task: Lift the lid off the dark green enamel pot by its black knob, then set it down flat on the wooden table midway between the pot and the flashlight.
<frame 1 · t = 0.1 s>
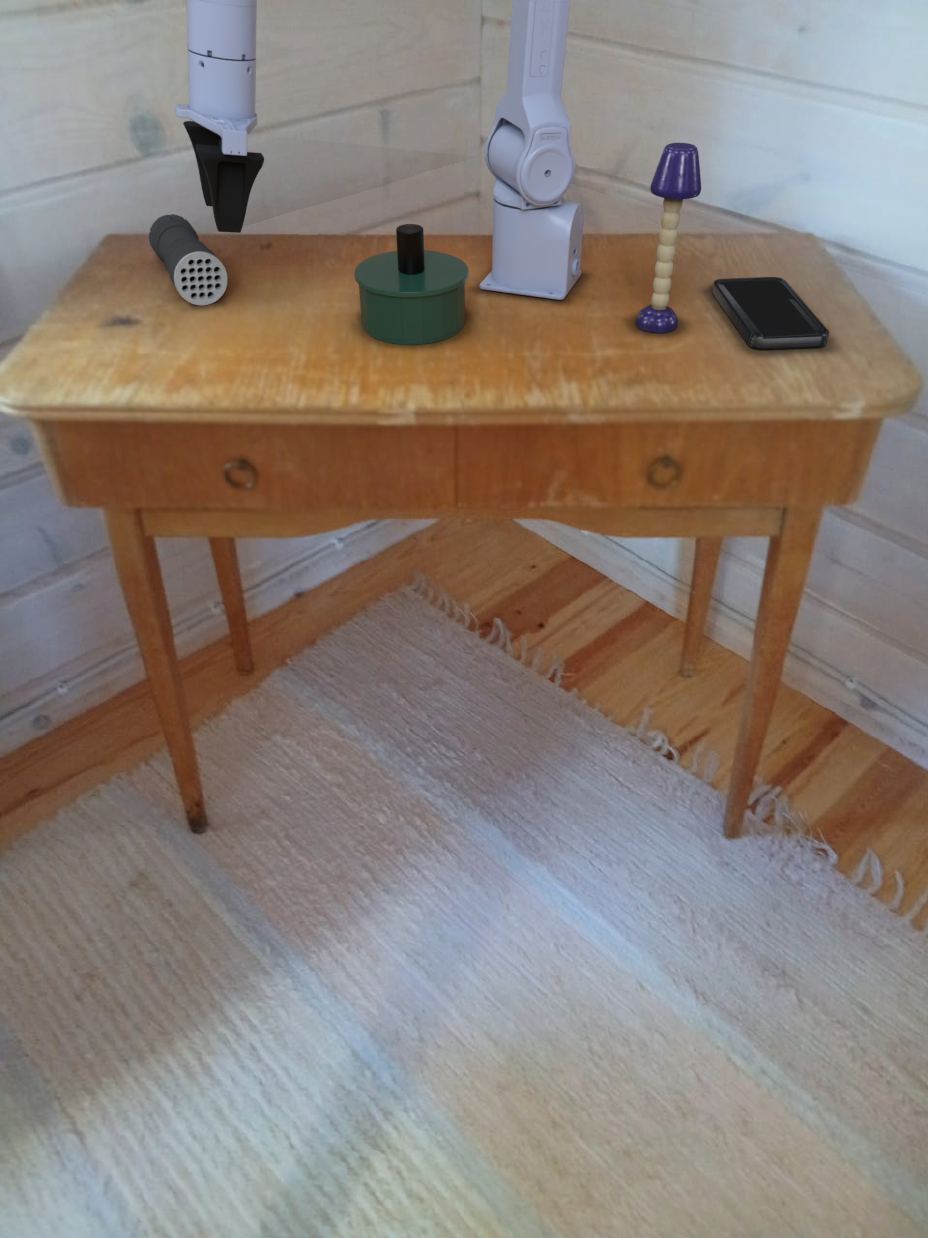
hand: (222, 217, 90), 11 cm above the table, tool pointing down, fingers open, 7 cm apart
flashlight: (191, 282, 106), on the table
lid: (411, 274, 94), point 5 cm above the table, touching pot
toy lamp: (657, 325, 97), on the table
pot: (413, 322, 97), on the table
phone: (766, 318, 98), on the table
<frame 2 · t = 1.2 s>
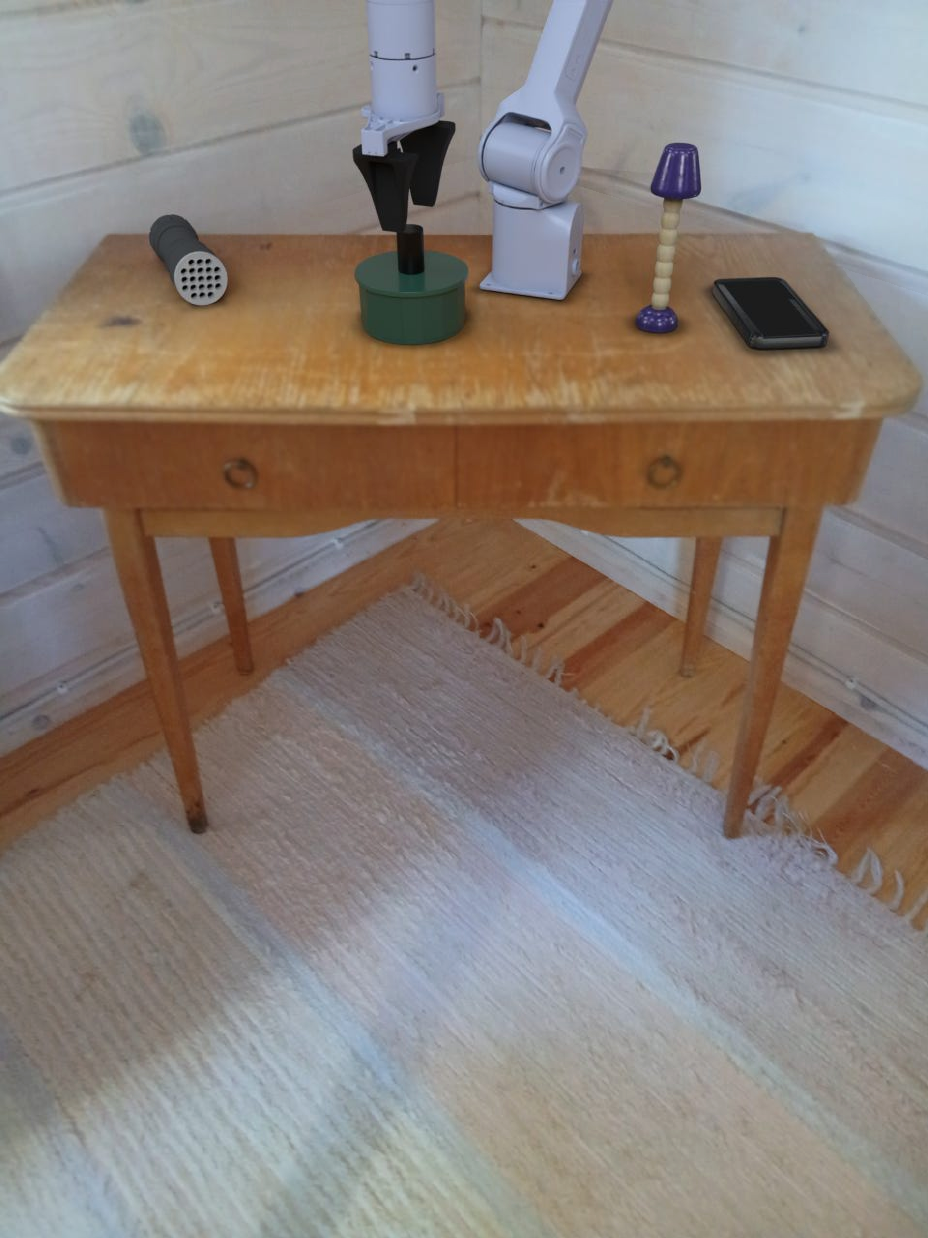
hand: (409, 217, 90), 10 cm above the table, tool pointing down, fingers open, 7 cm apart
nothing on the table moved.
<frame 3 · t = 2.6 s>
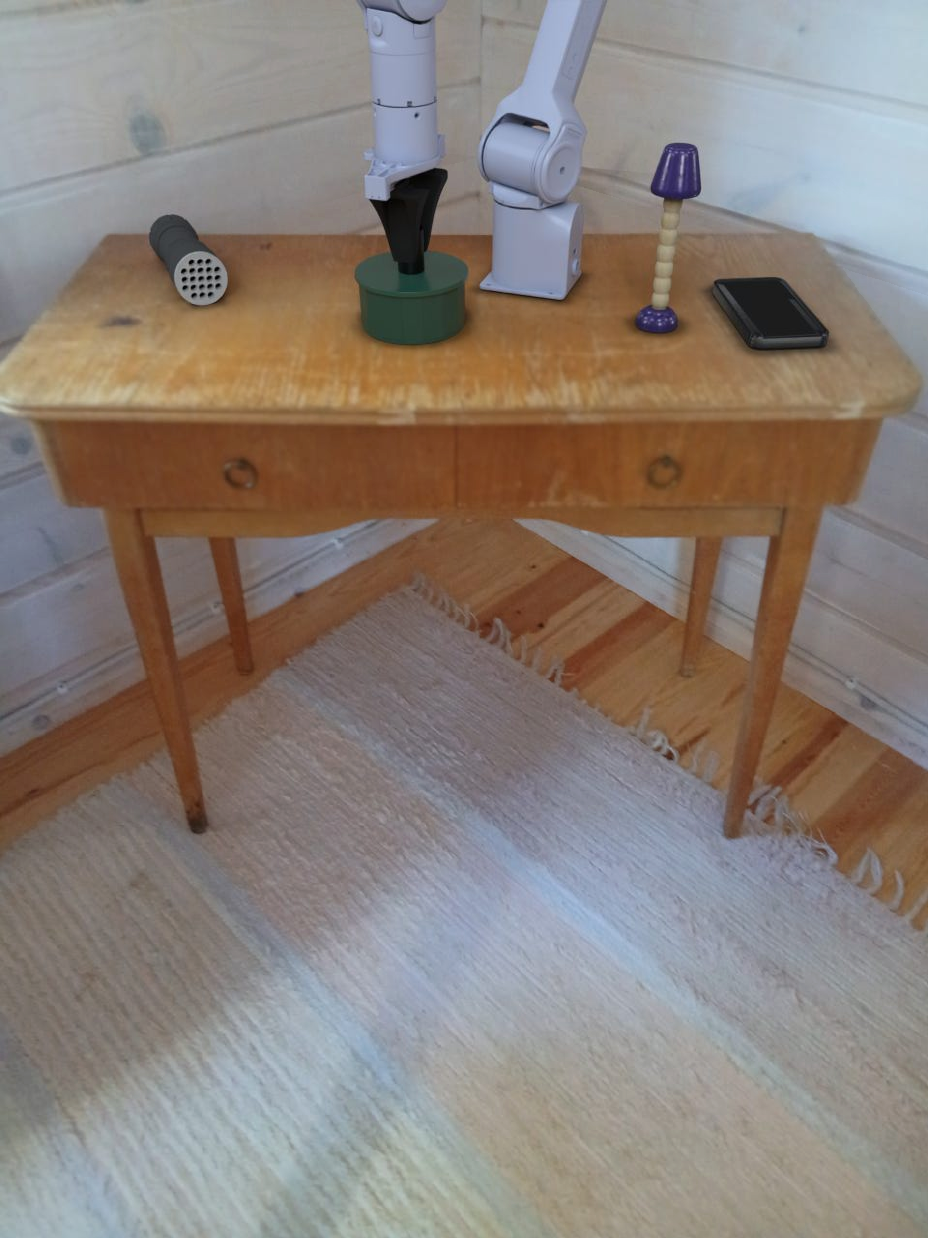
hand: (410, 255, 93), 7 cm above the table, tool pointing down, fingers closed on lid, 2 cm apart
lid: (411, 274, 94), point 5 cm above the table, touching gripper, pot
everything else where it was.
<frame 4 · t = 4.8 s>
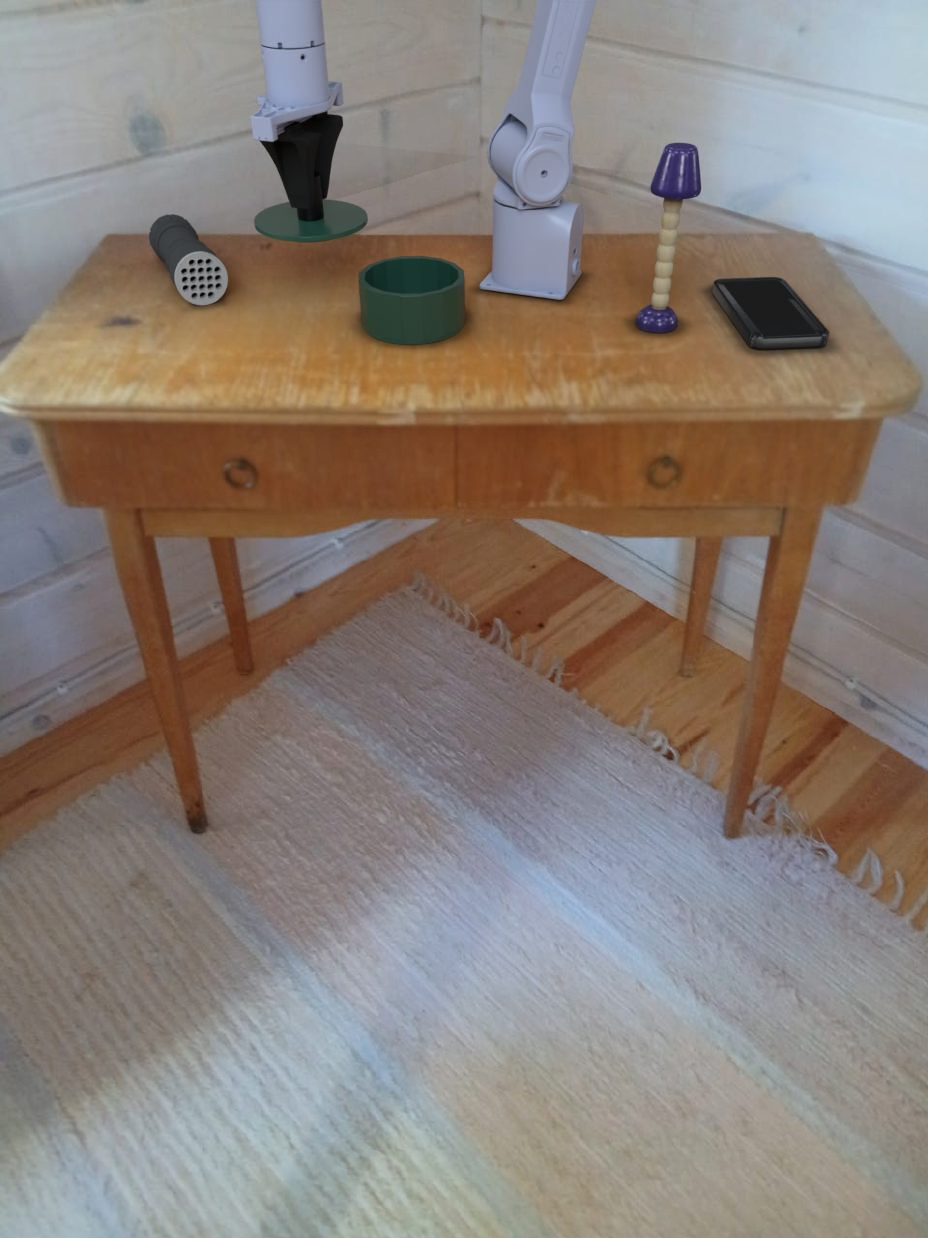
hand: (309, 202, 94), 10 cm above the table, tool pointing down, fingers closed on lid, 2 cm apart
lid: (311, 222, 95), point 9 cm above the table, touching gripper
everything else where it was.
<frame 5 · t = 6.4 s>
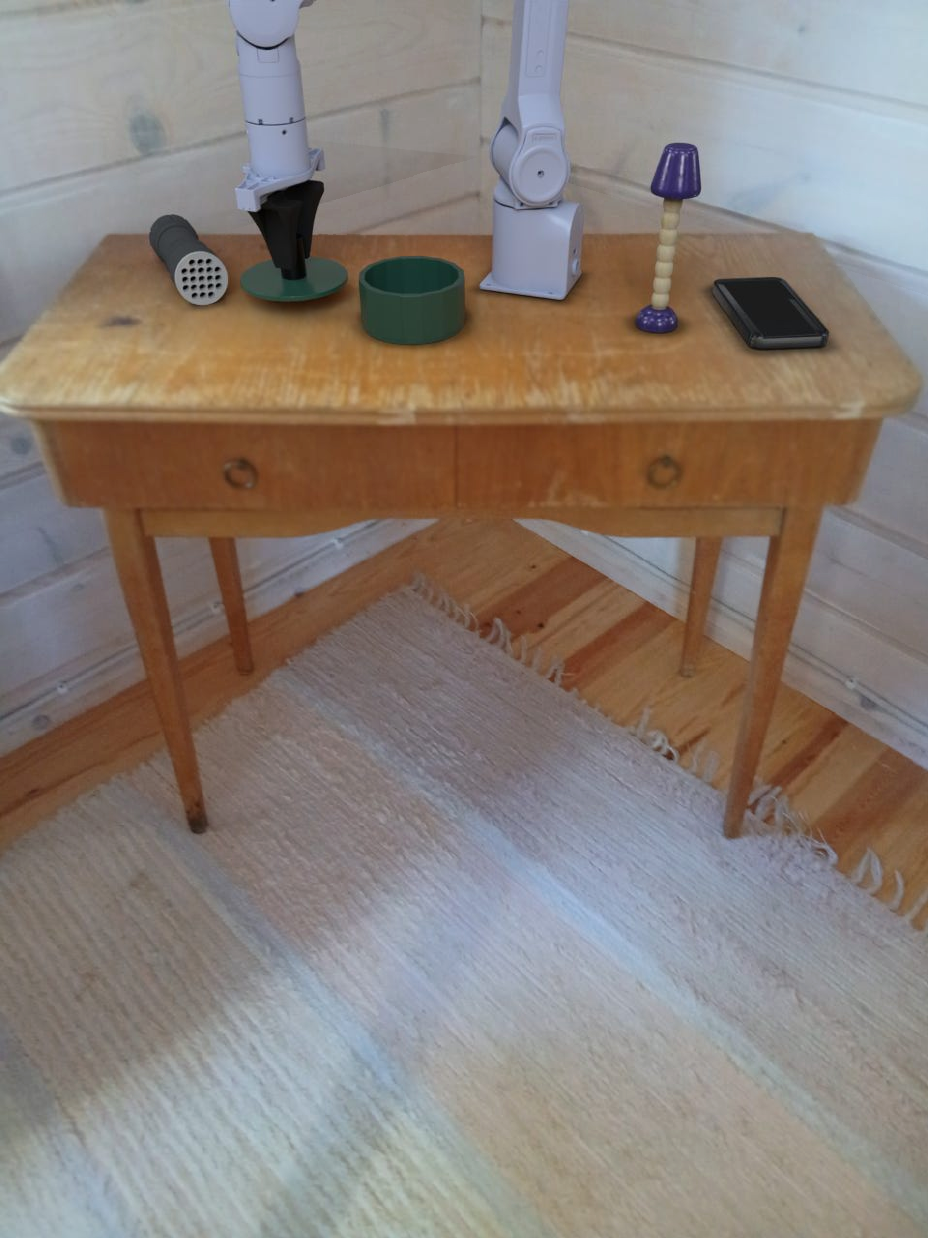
hand: (292, 262, 99), 4 cm above the table, tool pointing down, fingers closed on lid, 2 cm apart
lid: (294, 280, 100), point 2 cm above the table, touching gripper
everything else where it was.
when the fingers open (2 cm above the table, at t = 7.2 s): lid stays where it is, point 1 cm above the table.
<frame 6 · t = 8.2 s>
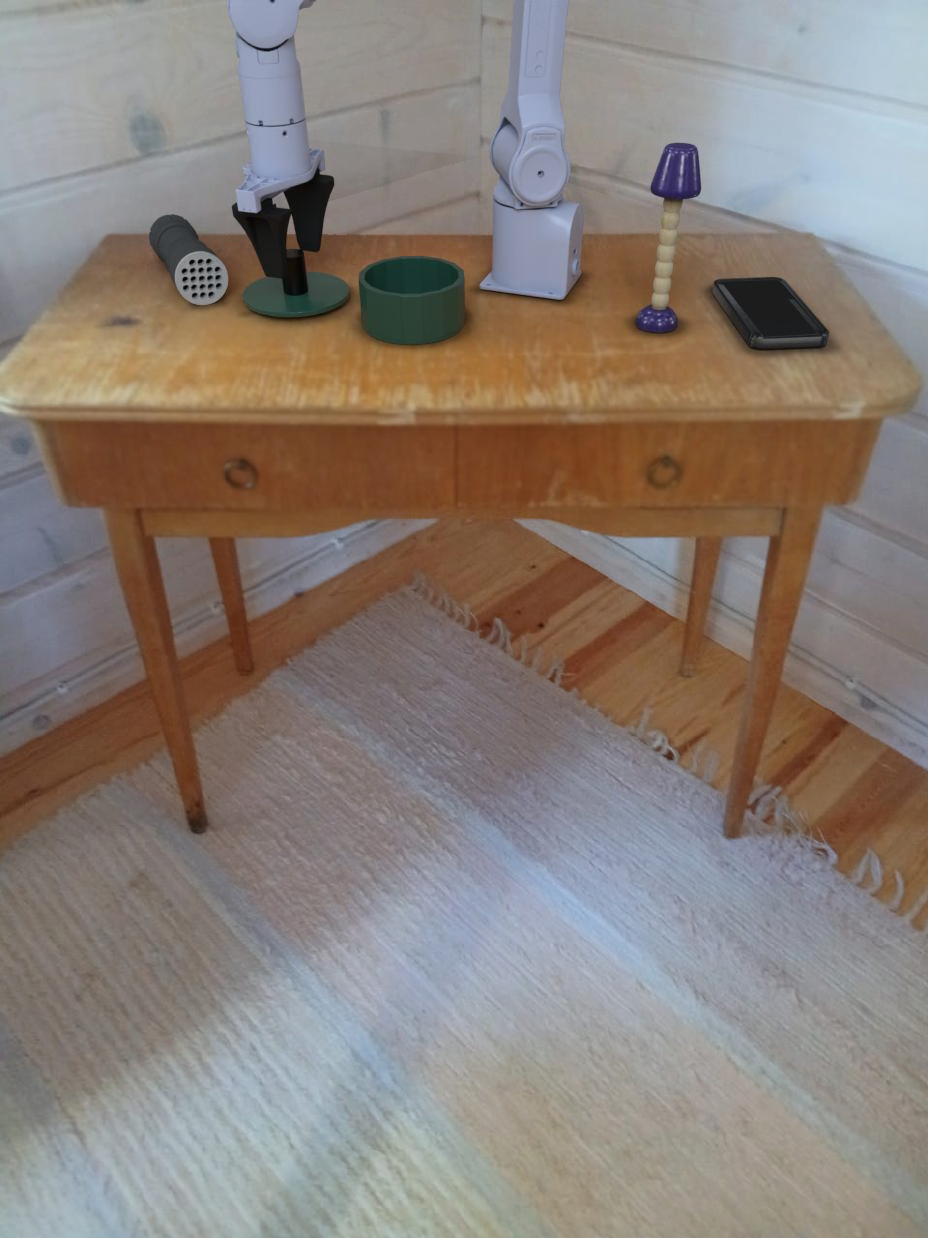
hand: (293, 262, 99), 4 cm above the table, tool pointing down, fingers open, 7 cm apart
lid: (296, 295, 101), point 1 cm above the table
everything else where it was.
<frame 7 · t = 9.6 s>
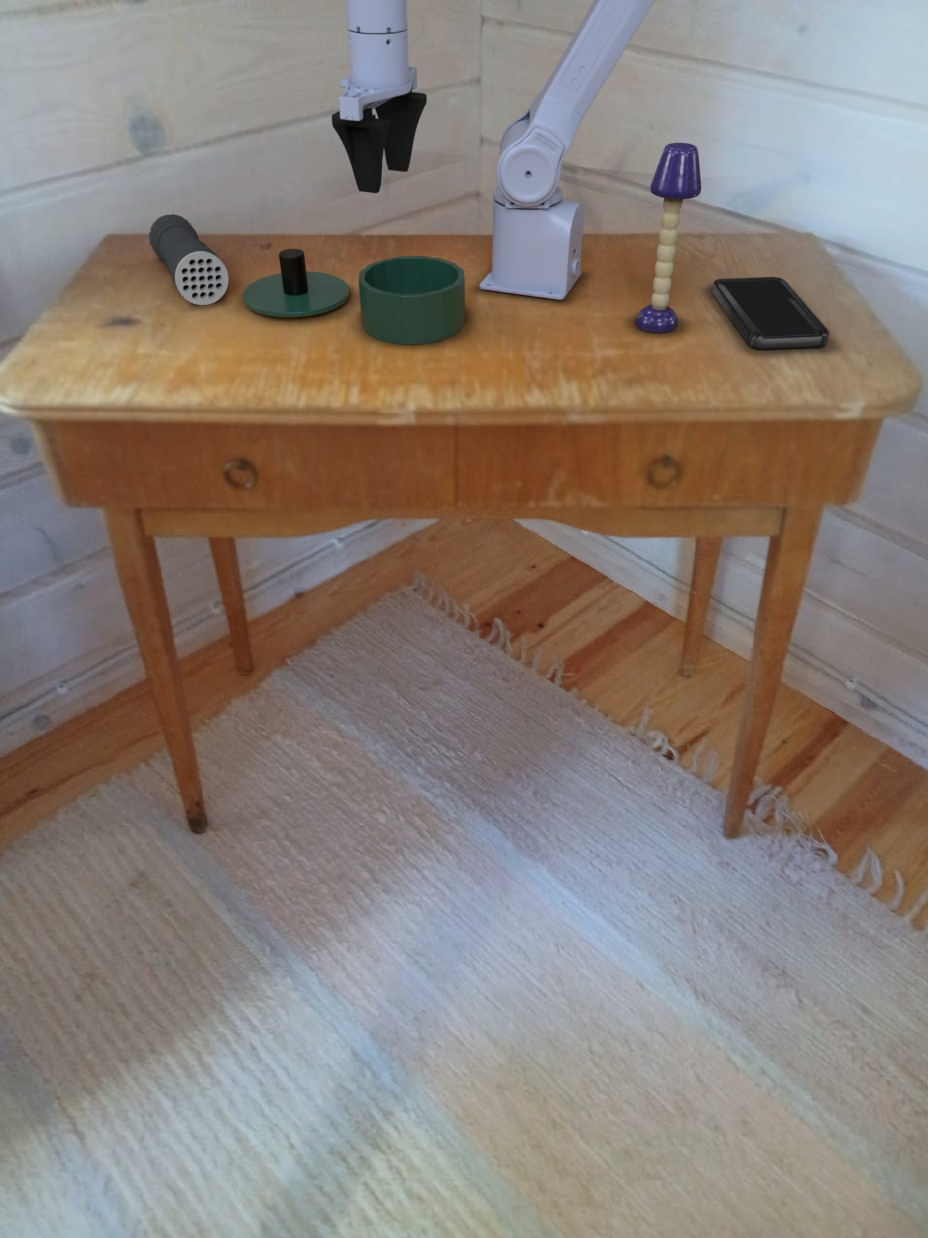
hand: (384, 180, 99), 10 cm above the table, tool pointing down, fingers open, 7 cm apart
nothing on the table moved.
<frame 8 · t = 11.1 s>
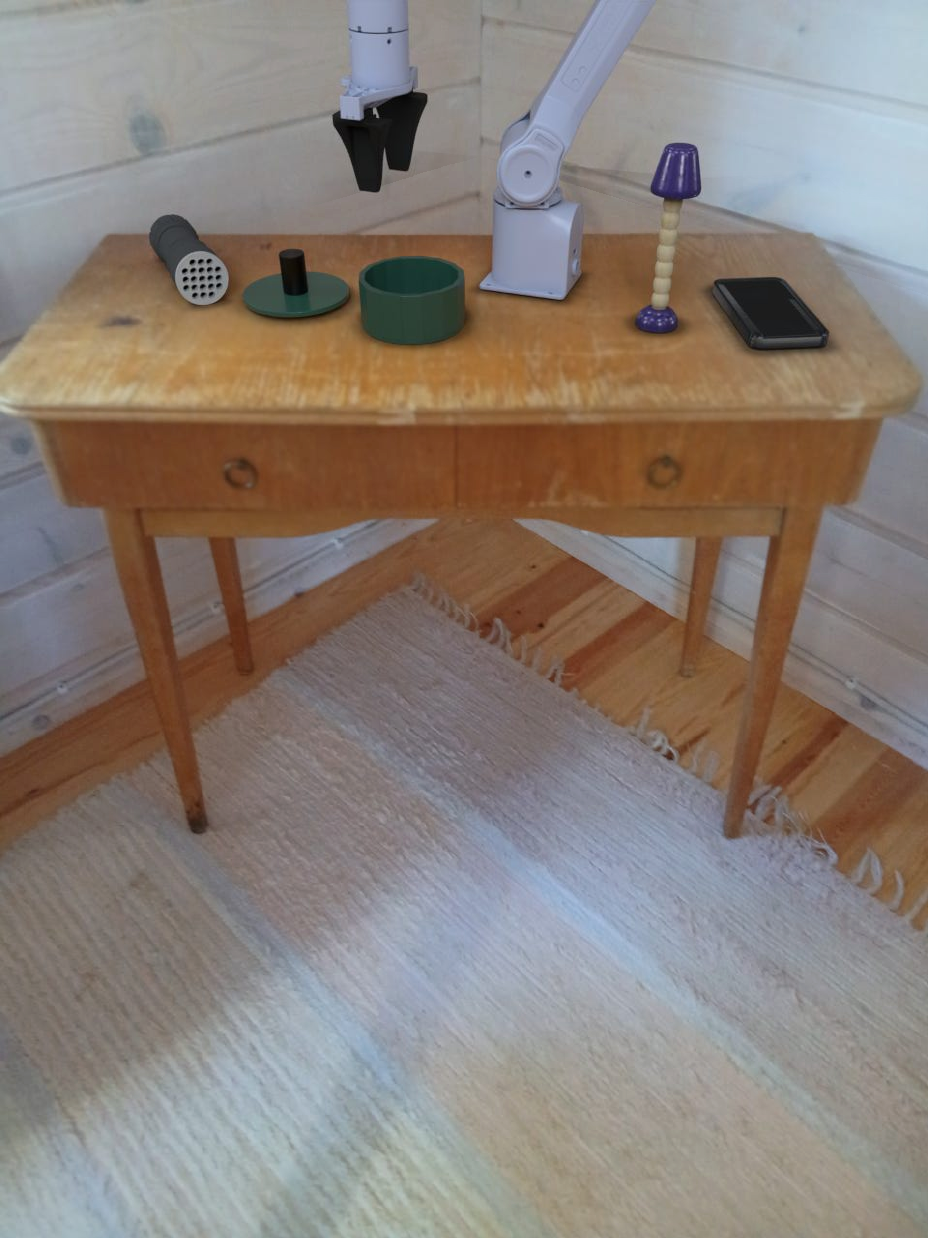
hand: (384, 179, 99), 10 cm above the table, tool pointing down, fingers open, 7 cm apart
nothing on the table moved.
at the end: lid 0.1 cm from the target spot on the table beside the pot, point 0.6 cm above the table; lid tilted 0°; flashlight moved 0.2 cm from its start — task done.
